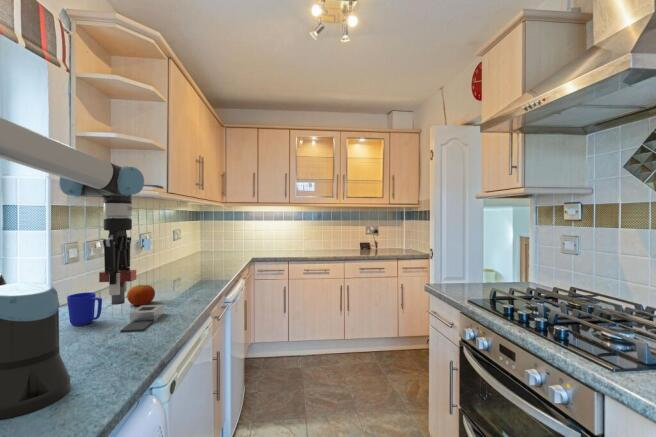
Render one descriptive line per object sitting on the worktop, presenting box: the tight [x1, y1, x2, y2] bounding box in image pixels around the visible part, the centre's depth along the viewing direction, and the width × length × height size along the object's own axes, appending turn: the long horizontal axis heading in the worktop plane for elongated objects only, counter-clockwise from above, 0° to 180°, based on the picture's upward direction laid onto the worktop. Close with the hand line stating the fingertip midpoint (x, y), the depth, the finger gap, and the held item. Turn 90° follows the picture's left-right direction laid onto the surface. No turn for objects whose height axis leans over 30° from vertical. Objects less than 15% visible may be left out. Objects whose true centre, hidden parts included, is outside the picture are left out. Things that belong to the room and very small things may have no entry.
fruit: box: [126, 284, 156, 306], centre depth 147 cm, size 11×10×8 cm
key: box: [98, 269, 137, 306], centre depth 108 cm, size 4×9×10 cm, turn 97°
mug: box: [66, 292, 103, 326], centre depth 122 cm, size 8×12×10 cm
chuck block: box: [129, 304, 165, 324], centre depth 127 cm, size 10×8×4 cm
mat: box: [120, 321, 154, 333], centre depth 118 cm, size 9×7×1 cm
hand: (118, 292), depth 108 cm, fingers closed on key, 4 cm apart
